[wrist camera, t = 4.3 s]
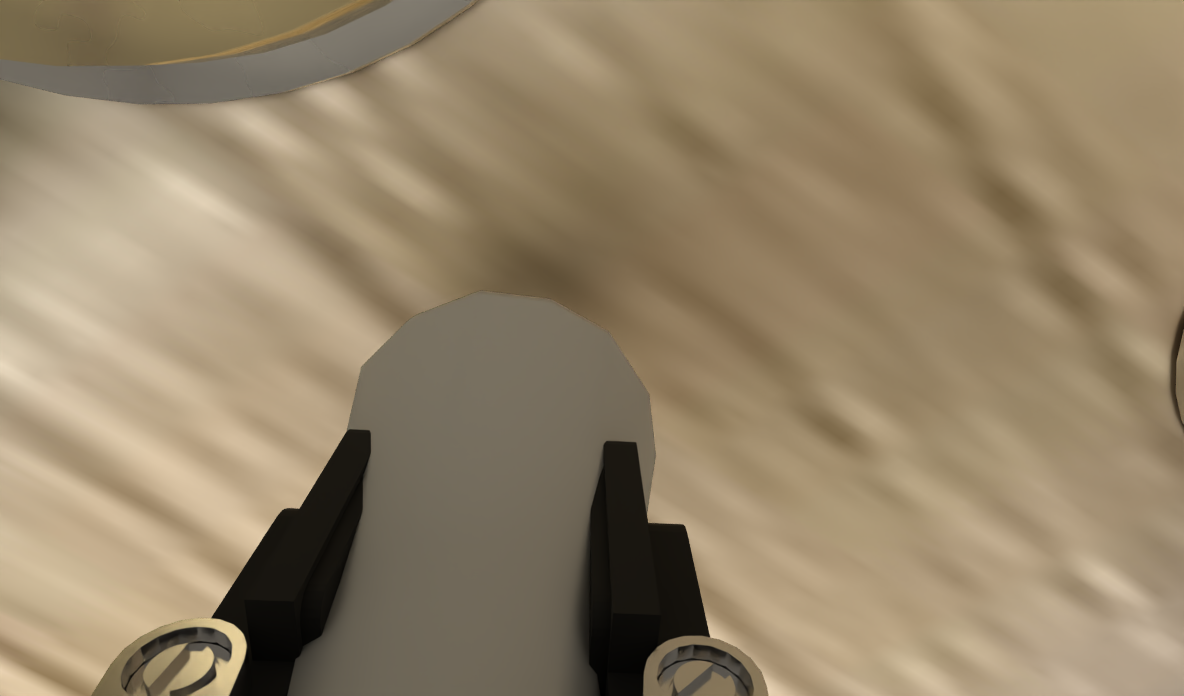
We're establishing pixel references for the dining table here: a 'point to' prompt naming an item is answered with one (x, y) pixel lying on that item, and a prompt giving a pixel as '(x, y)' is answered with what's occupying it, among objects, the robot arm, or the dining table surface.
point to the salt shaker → (478, 504)
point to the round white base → (249, 62)
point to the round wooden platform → (163, 29)
